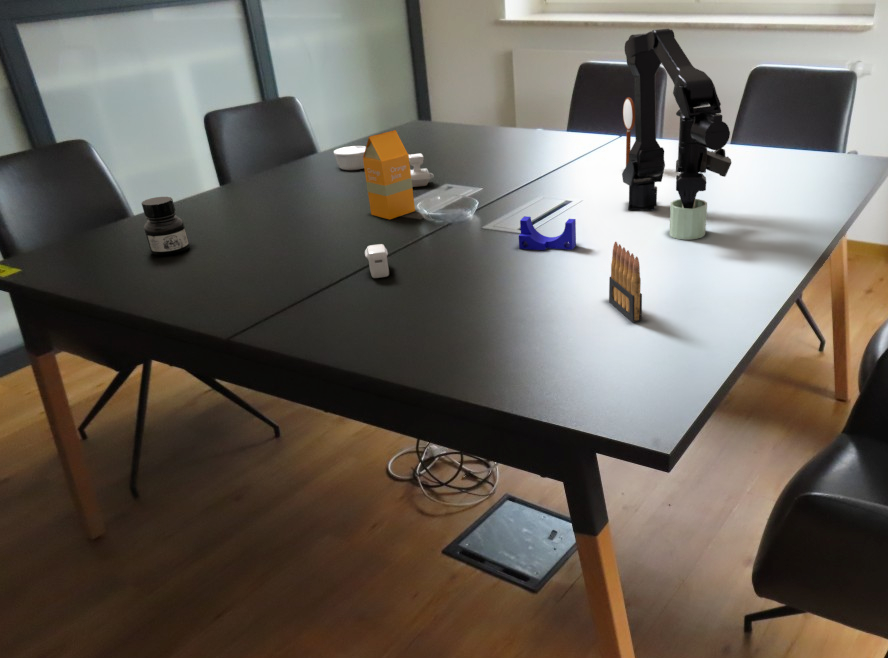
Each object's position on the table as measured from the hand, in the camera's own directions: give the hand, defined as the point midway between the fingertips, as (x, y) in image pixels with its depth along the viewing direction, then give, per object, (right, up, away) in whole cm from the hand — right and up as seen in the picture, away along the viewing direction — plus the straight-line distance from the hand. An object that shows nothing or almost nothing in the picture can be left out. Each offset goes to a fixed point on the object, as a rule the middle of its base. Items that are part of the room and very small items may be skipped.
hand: (688, 212), depth 185 cm
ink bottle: (-122, -6, +12) cm, 123 cm away
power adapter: (-69, -14, -7) cm, 70 cm away
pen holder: (0, -4, +3) cm, 5 cm away
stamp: (-67, +21, +51) cm, 87 cm away
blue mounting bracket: (-32, -8, 0) cm, 33 cm away
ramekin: (-90, +33, +74) cm, 121 cm away
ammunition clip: (-19, -27, -32) cm, 46 cm away
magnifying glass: (-7, +25, +52) cm, 58 cm away
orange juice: (-71, +7, +29) cm, 77 cm away
